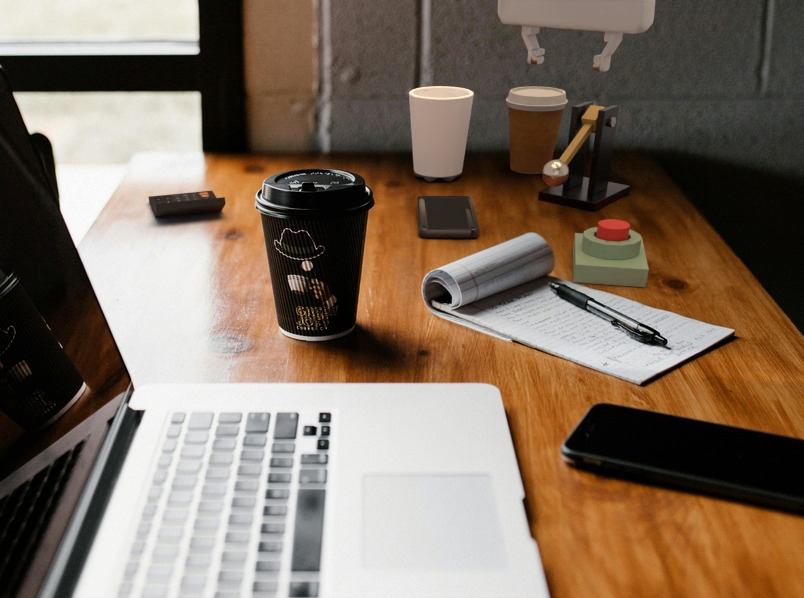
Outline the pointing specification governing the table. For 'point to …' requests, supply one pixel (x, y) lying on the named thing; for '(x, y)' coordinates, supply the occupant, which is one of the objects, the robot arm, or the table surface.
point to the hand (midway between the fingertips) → (567, 67)
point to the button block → (609, 260)
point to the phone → (446, 217)
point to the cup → (439, 130)
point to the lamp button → (613, 230)
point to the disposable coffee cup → (534, 126)
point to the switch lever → (570, 150)
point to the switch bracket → (596, 187)
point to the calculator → (185, 203)
